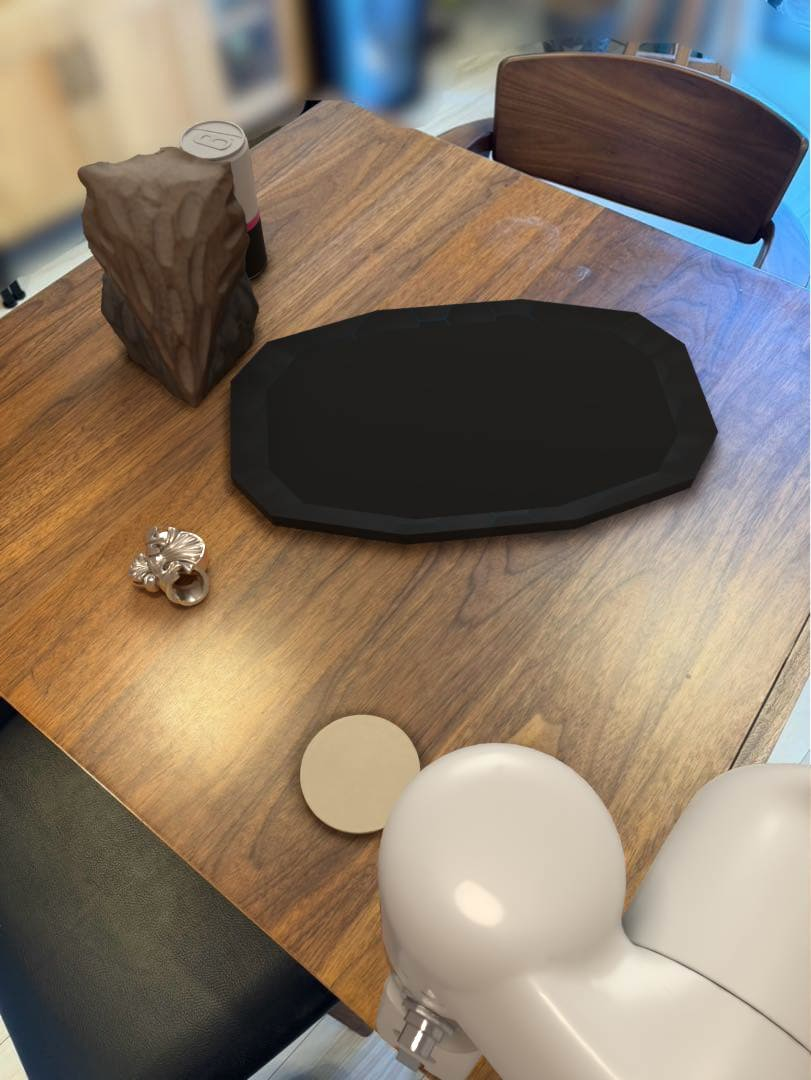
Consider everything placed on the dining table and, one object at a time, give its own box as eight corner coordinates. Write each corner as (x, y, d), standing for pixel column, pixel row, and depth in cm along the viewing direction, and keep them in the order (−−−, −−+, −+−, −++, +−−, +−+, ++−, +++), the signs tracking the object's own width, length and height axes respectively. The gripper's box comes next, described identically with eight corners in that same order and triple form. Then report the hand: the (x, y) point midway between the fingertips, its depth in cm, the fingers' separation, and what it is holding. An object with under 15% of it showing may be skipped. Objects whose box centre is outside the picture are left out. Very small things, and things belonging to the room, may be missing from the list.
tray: (660, 298, 94) (663, 287, 93) (740, 513, 80) (745, 503, 78) (232, 332, 92) (230, 321, 91) (233, 560, 77) (230, 550, 76)
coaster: (441, 751, 68) (441, 749, 68) (381, 857, 64) (381, 856, 63) (341, 696, 70) (340, 694, 70) (277, 795, 66) (276, 794, 66)
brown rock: (110, 348, 91) (42, 174, 74) (205, 285, 96) (161, 109, 79) (191, 412, 86) (138, 242, 69) (286, 342, 91) (258, 168, 74)
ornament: (119, 554, 78) (107, 531, 74) (194, 524, 79) (185, 500, 76) (149, 627, 74) (138, 606, 71) (227, 593, 75) (219, 571, 72)
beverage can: (248, 291, 95) (223, 166, 83) (196, 274, 97) (164, 148, 84) (278, 254, 99) (259, 128, 86) (227, 238, 100) (201, 111, 87)
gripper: (472, 1177, 32) (446, 1151, 47) (630, 807, 39) (562, 891, 54) (294, 1056, 33) (325, 1069, 49) (475, 725, 40) (452, 828, 56)
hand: (449, 975), depth 51 cm, fingers closed
